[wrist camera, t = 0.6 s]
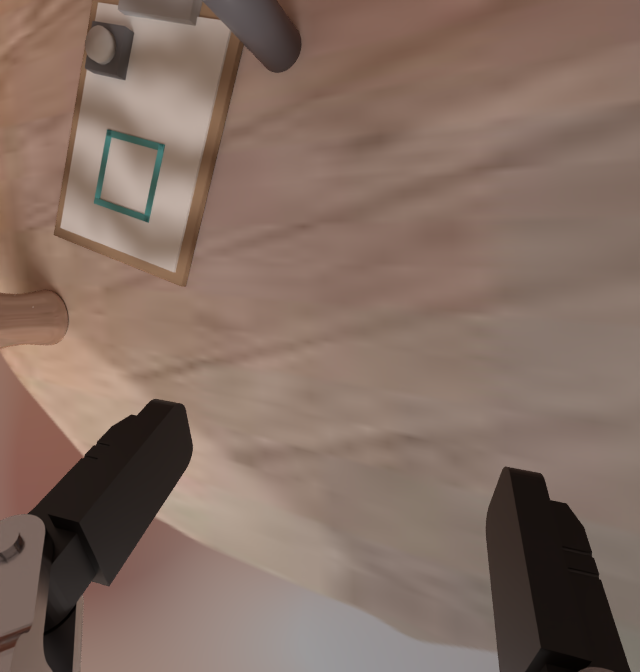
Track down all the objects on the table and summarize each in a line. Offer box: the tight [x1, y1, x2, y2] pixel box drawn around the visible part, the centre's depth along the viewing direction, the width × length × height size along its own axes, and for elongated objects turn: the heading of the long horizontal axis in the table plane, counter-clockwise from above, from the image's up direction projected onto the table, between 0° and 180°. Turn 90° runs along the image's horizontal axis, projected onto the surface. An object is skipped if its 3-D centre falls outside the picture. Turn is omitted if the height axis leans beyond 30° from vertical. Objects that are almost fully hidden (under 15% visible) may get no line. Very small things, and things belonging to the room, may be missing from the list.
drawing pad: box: [54, 0, 244, 286], centre depth 38 cm, size 24×17×3 cm
